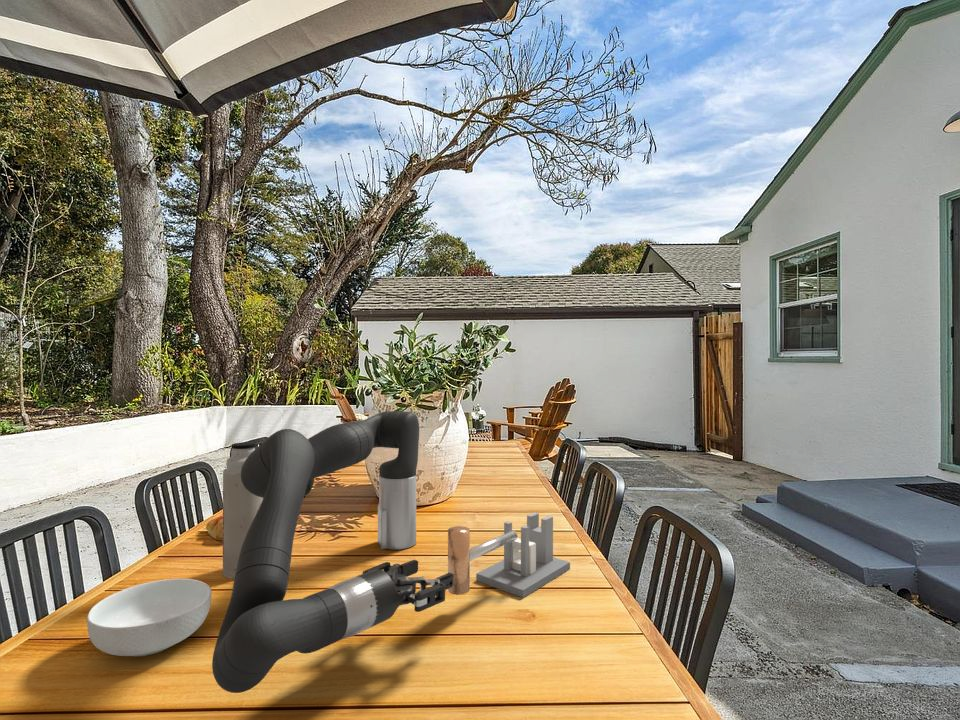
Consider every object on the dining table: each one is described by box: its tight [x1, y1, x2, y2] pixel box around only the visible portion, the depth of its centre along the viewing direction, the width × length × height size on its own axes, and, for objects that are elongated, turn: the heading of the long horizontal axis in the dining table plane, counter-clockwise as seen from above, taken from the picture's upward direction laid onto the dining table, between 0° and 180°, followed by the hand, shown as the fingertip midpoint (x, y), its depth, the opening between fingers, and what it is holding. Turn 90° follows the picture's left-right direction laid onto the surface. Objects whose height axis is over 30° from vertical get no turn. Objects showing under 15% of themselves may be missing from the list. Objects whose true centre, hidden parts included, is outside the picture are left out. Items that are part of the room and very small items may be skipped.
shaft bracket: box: [475, 511, 571, 599], centre depth 109 cm, size 18×12×12 cm, turn 140°
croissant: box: [205, 515, 223, 542], centre depth 132 cm, size 21×10×8 cm, turn 68°
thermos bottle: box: [222, 441, 263, 579], centre depth 110 cm, size 8×8×28 cm
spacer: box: [512, 537, 536, 575], centre depth 108 cm, size 2×6×6 cm, turn 50°
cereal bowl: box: [86, 578, 212, 657], centre depth 82 cm, size 17×17×7 cm
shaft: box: [447, 525, 519, 596], centre depth 98 cm, size 19×4×11 cm, turn 140°
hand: (433, 572), depth 88 cm, fingers open, 8 cm apart
